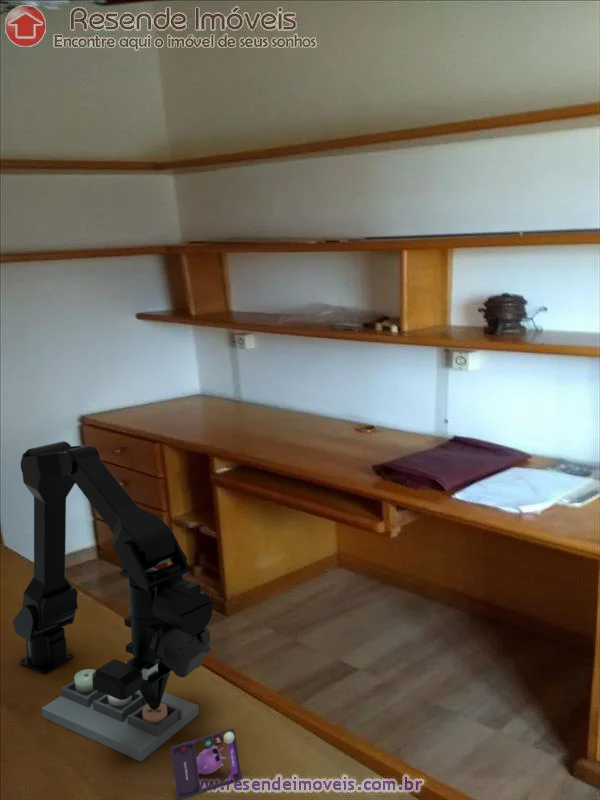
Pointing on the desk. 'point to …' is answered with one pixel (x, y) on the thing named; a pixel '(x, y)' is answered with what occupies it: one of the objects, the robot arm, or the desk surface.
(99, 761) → the desk surface
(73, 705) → the button board
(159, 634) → the robot arm
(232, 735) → the game card
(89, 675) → the sage button
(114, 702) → the grey button
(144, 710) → the terracotta button
